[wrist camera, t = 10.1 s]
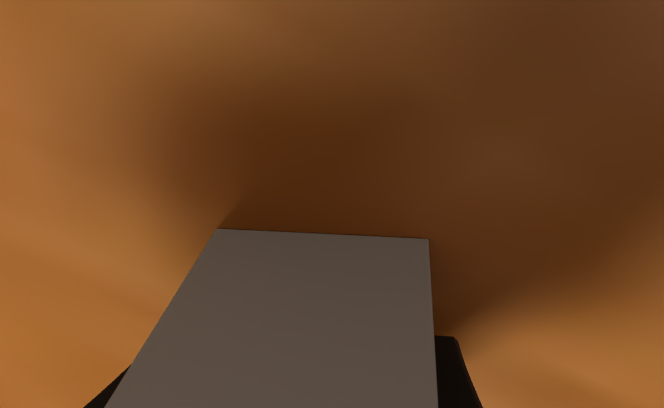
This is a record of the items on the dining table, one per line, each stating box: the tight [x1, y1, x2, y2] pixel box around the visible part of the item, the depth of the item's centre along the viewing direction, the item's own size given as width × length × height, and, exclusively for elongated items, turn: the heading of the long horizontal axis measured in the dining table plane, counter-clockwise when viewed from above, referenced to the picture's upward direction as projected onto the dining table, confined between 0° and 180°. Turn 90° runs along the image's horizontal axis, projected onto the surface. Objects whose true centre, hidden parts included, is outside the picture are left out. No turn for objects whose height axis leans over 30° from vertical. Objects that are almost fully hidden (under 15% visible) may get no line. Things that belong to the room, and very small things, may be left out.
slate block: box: [104, 229, 438, 408], centre depth 10 cm, size 5×5×5 cm
